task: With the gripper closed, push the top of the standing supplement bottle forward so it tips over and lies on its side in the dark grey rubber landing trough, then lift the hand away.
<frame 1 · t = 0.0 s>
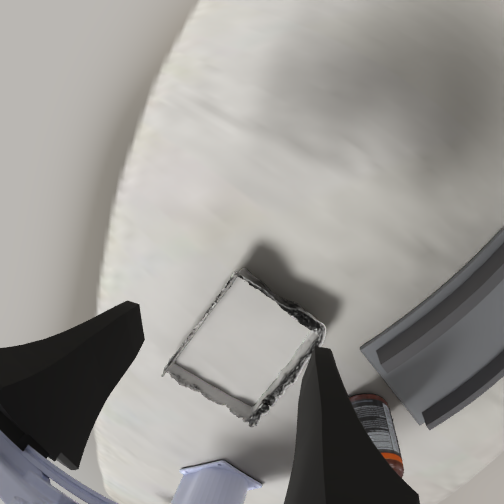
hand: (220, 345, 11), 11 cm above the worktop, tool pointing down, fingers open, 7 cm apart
supplement bottle: (359, 410, 23), on the worktop
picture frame: (247, 345, 23), on the worktop
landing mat: (464, 342, 19), on the worktop
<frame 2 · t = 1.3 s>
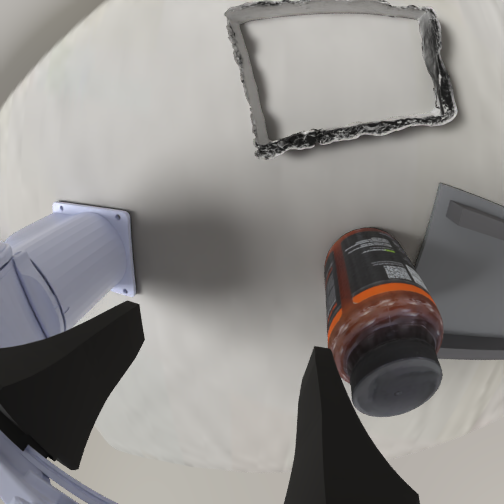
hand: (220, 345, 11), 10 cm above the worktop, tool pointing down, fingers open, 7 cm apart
supplement bottle: (364, 262, 19), on the worktop
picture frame: (345, 71, 15), on the worktop
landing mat: (484, 287, 18), on the worktop
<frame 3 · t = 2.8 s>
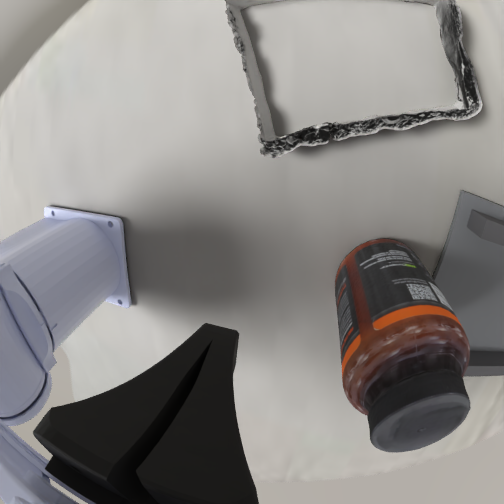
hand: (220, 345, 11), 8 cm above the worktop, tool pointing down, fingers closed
supplement bottle: (377, 276, 17), on the worktop
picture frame: (359, 59, 12), on the worktop
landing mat: (500, 301, 16), on the worktop
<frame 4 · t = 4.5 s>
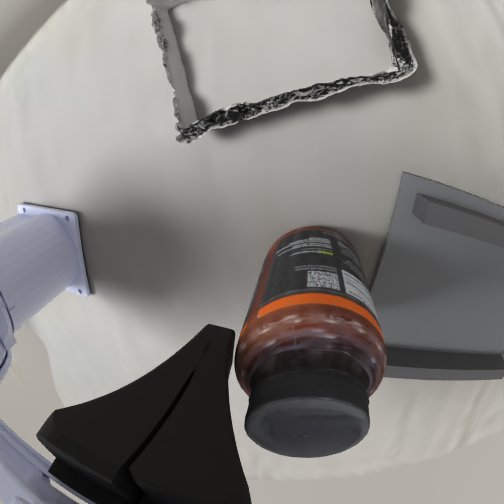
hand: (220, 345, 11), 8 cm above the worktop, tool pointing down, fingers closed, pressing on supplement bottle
supplement bottle: (312, 267, 18), on the worktop, touching gripper
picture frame: (281, 38, 13), on the worktop
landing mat: (466, 297, 16), on the worktop
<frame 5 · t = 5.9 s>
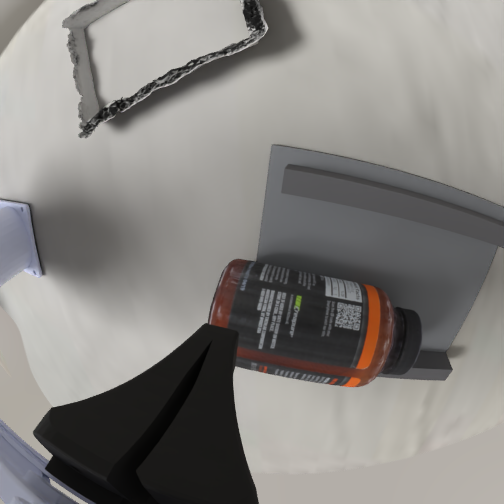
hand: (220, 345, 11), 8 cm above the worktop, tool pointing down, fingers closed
supplement bottle: (216, 306, 16), point 3 cm above the worktop, touching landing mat
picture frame: (163, 37, 13), on the worktop
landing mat: (380, 282, 17), on the worktop
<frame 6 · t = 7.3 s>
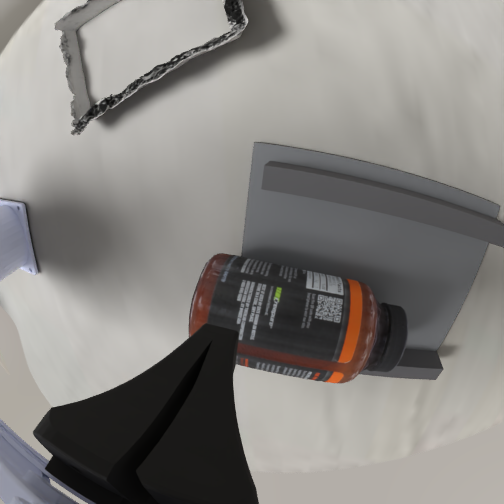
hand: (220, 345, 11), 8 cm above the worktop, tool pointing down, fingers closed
supplement bottle: (200, 300, 16), point 3 cm above the worktop, touching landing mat
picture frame: (150, 35, 13), on the worktop
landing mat: (366, 278, 17), on the worktop
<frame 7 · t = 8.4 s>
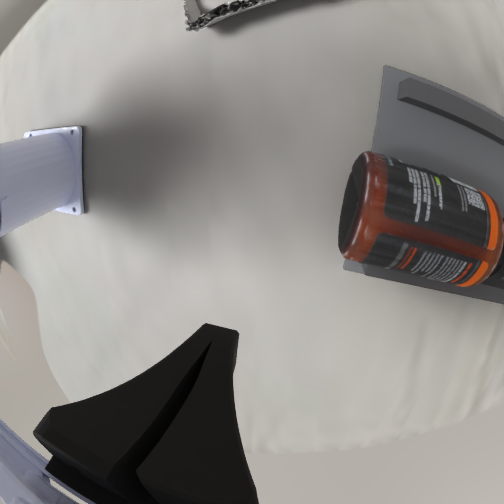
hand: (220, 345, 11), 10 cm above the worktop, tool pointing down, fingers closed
supplement bottle: (345, 201, 14), point 3 cm above the worktop, touching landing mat
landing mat: (467, 200, 15), on the worktop
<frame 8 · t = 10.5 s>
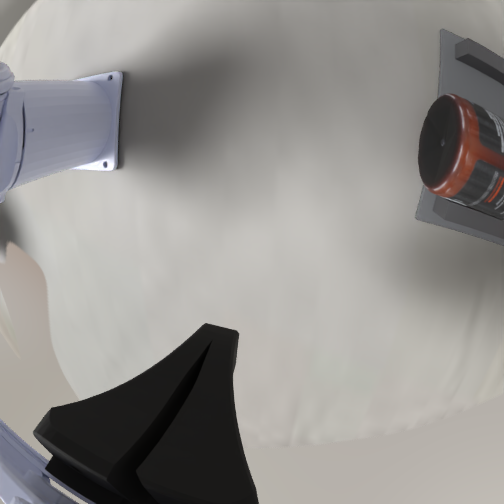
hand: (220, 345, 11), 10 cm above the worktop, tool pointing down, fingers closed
supplement bottle: (431, 138, 12), point 3 cm above the worktop, touching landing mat
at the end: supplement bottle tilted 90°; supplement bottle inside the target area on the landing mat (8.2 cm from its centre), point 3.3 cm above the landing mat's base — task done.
